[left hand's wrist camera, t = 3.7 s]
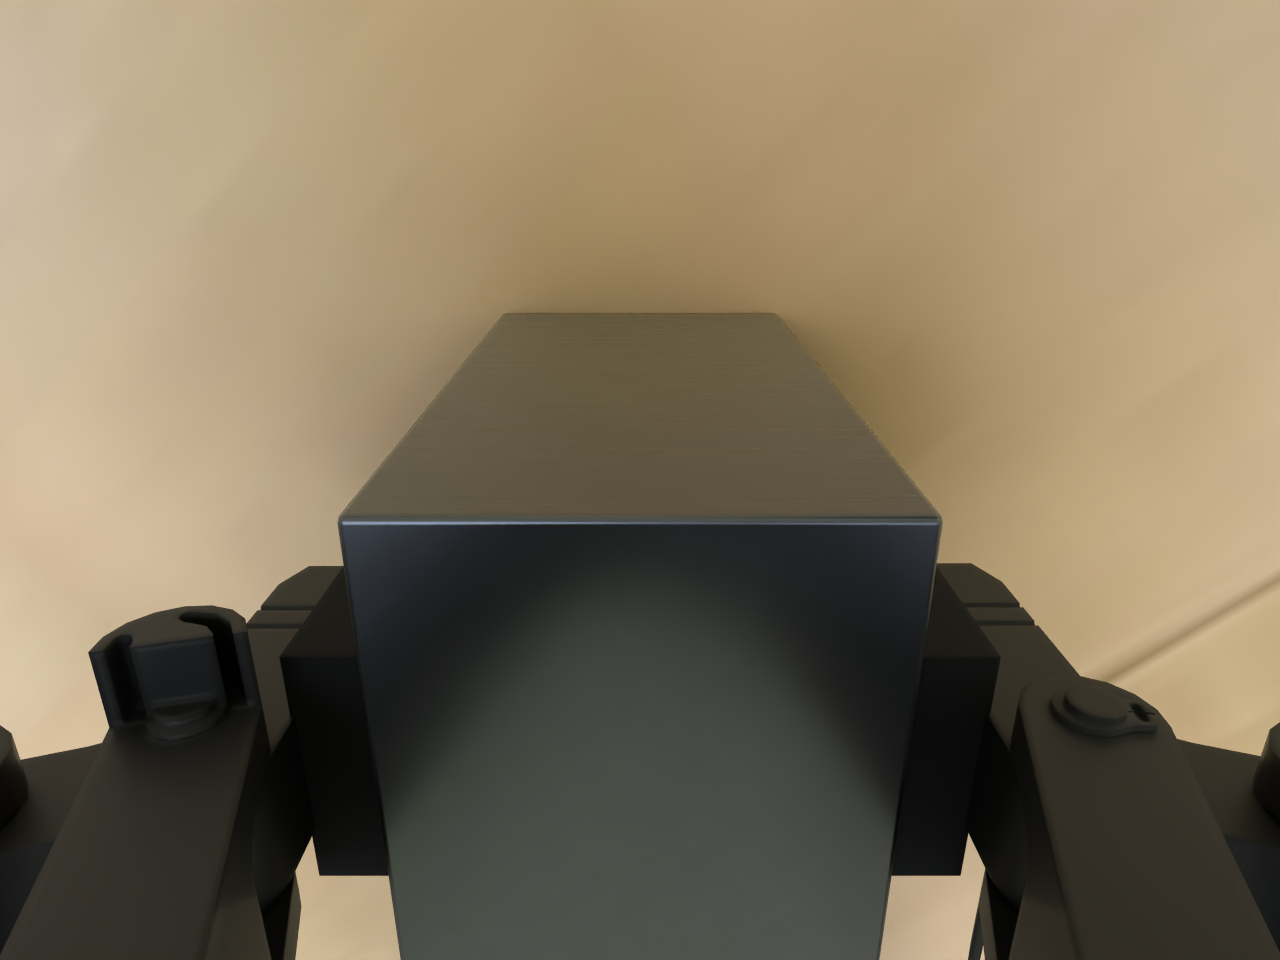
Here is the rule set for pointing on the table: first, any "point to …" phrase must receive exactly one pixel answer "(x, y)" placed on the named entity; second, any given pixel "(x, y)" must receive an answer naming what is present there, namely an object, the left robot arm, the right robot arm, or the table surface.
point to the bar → (640, 648)
